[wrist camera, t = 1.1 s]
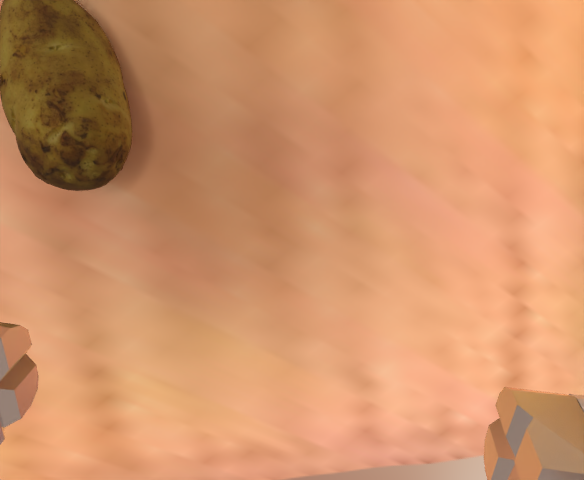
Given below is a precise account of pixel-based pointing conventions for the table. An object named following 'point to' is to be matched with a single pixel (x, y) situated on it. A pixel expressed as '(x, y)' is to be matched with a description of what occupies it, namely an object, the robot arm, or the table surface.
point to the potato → (63, 93)
